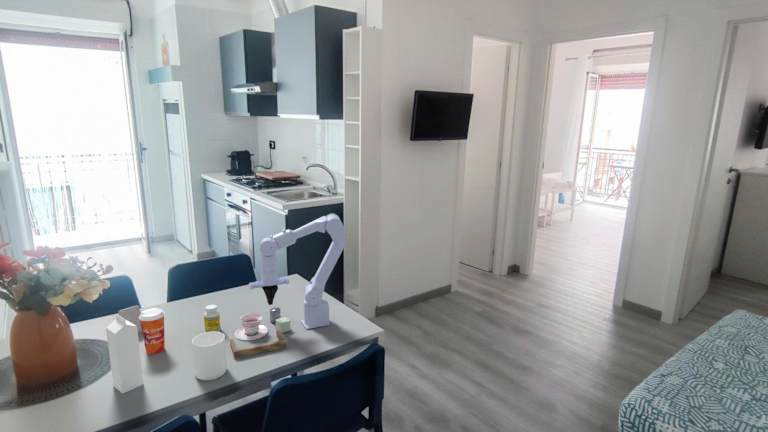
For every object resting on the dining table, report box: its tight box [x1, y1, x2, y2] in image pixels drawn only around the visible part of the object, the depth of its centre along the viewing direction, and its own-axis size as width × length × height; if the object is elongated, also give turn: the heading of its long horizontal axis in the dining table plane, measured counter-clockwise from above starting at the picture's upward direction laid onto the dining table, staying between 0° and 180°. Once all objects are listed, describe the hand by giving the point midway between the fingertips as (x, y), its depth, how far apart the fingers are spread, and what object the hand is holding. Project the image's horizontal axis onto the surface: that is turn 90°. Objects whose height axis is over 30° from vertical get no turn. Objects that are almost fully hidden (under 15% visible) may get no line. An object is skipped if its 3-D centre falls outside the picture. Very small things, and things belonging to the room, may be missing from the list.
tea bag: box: [117, 304, 143, 334], centre depth 158 cm, size 4×7×10 cm, turn 140°
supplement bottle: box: [203, 304, 221, 332], centre depth 161 cm, size 5×5×10 cm
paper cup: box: [139, 307, 166, 355], centre depth 146 cm, size 8×8×14 cm
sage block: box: [275, 316, 291, 334], centre depth 164 cm, size 4×4×4 cm
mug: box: [191, 331, 228, 382], centre depth 135 cm, size 10×12×12 cm
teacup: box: [234, 312, 269, 342], centre depth 161 cm, size 12×12×6 cm
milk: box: [105, 313, 144, 395], centre depth 126 cm, size 6×6×22 cm
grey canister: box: [269, 307, 282, 325], centre depth 170 cm, size 4×4×5 cm
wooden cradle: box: [229, 329, 287, 359], centre depth 151 cm, size 17×9×2 cm, turn 117°
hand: (270, 303), depth 164 cm, fingers closed
